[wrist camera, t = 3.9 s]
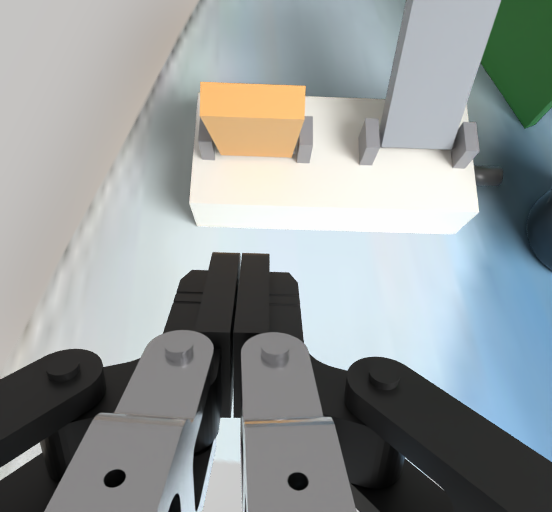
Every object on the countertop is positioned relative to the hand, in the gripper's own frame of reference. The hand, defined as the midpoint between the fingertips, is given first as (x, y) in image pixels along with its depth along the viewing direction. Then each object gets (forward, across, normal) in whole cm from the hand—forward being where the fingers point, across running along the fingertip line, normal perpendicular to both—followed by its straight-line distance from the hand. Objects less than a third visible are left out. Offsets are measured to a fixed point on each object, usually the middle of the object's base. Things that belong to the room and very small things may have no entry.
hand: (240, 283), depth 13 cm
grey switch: (+20, -10, +2) cm, 22 cm away
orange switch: (+20, 0, +2) cm, 20 cm away
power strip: (+22, -6, +4) cm, 24 cm away
